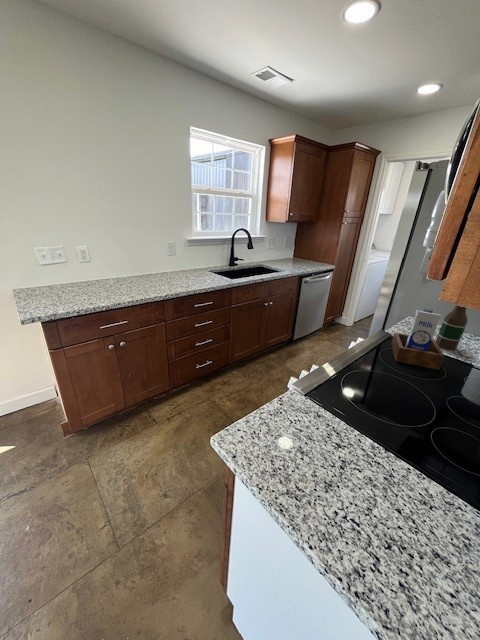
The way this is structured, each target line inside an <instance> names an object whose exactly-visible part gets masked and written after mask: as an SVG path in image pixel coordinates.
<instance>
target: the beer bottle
mask: <svg viewBox="0 0 480 640" xmlns="http://www.w3.org/2000/svg"><path fill="white" fill-rule="evenodd" d="M467 308H468V307H467ZM467 308H465V307H460V306H457V305H456V304H455V306H454V308H453V309H452V310H451V311H450V312H449V313H447V314H446V315H445V316H444V319H443V321H442V323H441V325H440V326H441V327H440V328H439V331H438V334H437V337H436V339H435V341H436V343H437V344H438V346H439V348H440V349H443V350H449V351H454V350H456V349H457V348H458V346H459V344H460V342H461V339H462V337H463V334H464V331H465V329H466V327H467V324H468V316H467V314H466V312H467Z"/></svg>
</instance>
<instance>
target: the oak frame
mask: <svg viewBox="0 0 480 640" xmlns="http://www.w3.org/2000/svg"><path fill="white" fill-rule="evenodd" d="M408 336H409V333H401V332H394V333H393V337H392V340H391V342H390V343H391V344H390V346H391V349H392V353H393V357H394V360H395V362H399V363H404V364H407V365H413V366H418V367H422V368H427V369H432V370H438V371H439V370H440V368H441V366H442V363H443V361H444V359H445V354H444V353H443V351H442V348H441V347H439V346H438V344H437V343H436V339H434V338H432V341H431V343H430V346H429V349H428V351H422V350H417V349H411V348H406V347H405V345H406V342H407V339H408Z"/></svg>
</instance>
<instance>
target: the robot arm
mask: <svg viewBox="0 0 480 640" xmlns="http://www.w3.org/2000/svg"><path fill="white" fill-rule="evenodd" d="M444 208H445V188H444V189H443V190H442V191H441V192H440V193H439V196H438V198H437V199H436V202H435V204H434V207H433V210H432V213H431V219H430V220H431V221H430V224H429V227H428V228H427V230H426V232H425V236H424V240H423V243H422V246H423V247H425V248H426V249H425V254H424V256H423V259H422V262H421V265H420V268H419V273H418V274H419V275H421V282H420V288H425V289H426V288H427V287H428V286H429V283H433V282H434V280H433V281H432V280H428V279H426V274H427V268H428V264H429V261H430V259H431V256H432V252H433V247H434V242H435V238H436V235H437V231H438V228H439V225H440V222H441V219H442V215H443V212H444Z"/></svg>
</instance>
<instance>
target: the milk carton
mask: <svg viewBox="0 0 480 640" xmlns="http://www.w3.org/2000/svg"><path fill="white" fill-rule="evenodd" d="M441 317H442V314H438V313H434V310H433V309H428V308H423V310H418V309H416V310H415V315H414V318H413V321H412V324H411V327H410V330H409V332H408V335H409V336H408V339H407V342H406V345H405V347H406V348H411V349H417V350H422V351H428V349H429V346H430V343H431V341H432V339H434V338H433V337H434V335H435V332H436V330H437V327H438V324H439V322H440V319H441Z"/></svg>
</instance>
